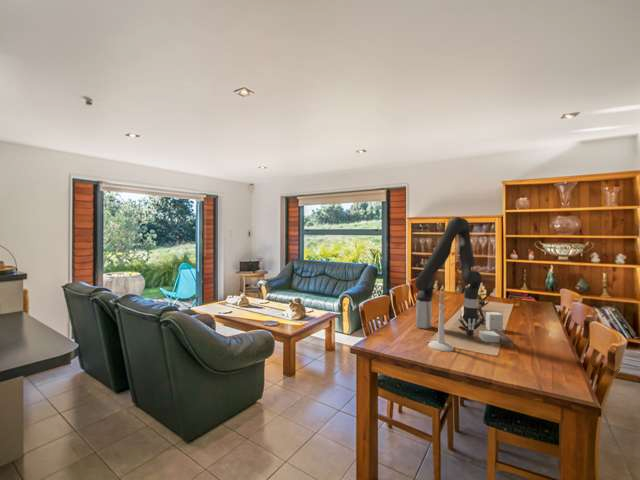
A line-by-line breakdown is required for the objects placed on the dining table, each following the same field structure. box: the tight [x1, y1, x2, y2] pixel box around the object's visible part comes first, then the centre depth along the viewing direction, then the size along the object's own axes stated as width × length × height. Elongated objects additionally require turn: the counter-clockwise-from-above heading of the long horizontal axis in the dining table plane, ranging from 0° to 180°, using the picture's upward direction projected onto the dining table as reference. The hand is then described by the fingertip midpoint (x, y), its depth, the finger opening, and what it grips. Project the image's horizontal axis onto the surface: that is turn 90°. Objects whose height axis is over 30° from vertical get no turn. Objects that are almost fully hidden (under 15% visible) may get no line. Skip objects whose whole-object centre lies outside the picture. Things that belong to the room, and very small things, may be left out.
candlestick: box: [427, 291, 455, 352], centre depth 165 cm, size 13×13×30 cm
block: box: [478, 330, 501, 344], centre depth 177 cm, size 8×8×4 cm
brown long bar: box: [490, 329, 514, 348], centre depth 176 cm, size 4×20×4 cm, turn 173°
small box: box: [485, 311, 504, 332], centre depth 195 cm, size 8×6×10 cm
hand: (470, 335), depth 178 cm, fingers closed
